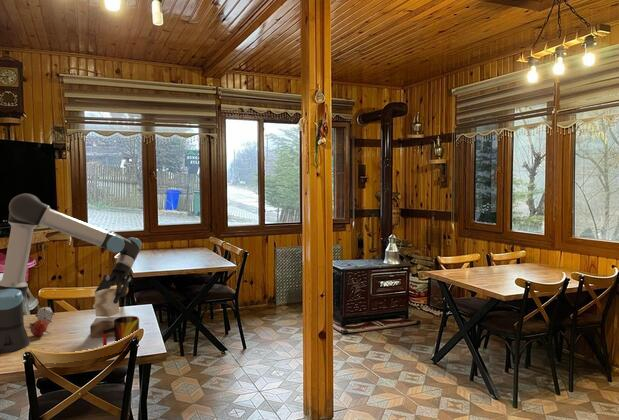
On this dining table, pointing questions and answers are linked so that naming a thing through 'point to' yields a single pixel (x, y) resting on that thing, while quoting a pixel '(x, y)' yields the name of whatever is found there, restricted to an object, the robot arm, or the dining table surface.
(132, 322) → the mug
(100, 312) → the maple block
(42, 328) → the pomegranate
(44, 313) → the game die
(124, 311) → the dining table surface
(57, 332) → the dining table surface
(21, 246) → the robot arm
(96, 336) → the walnut block
